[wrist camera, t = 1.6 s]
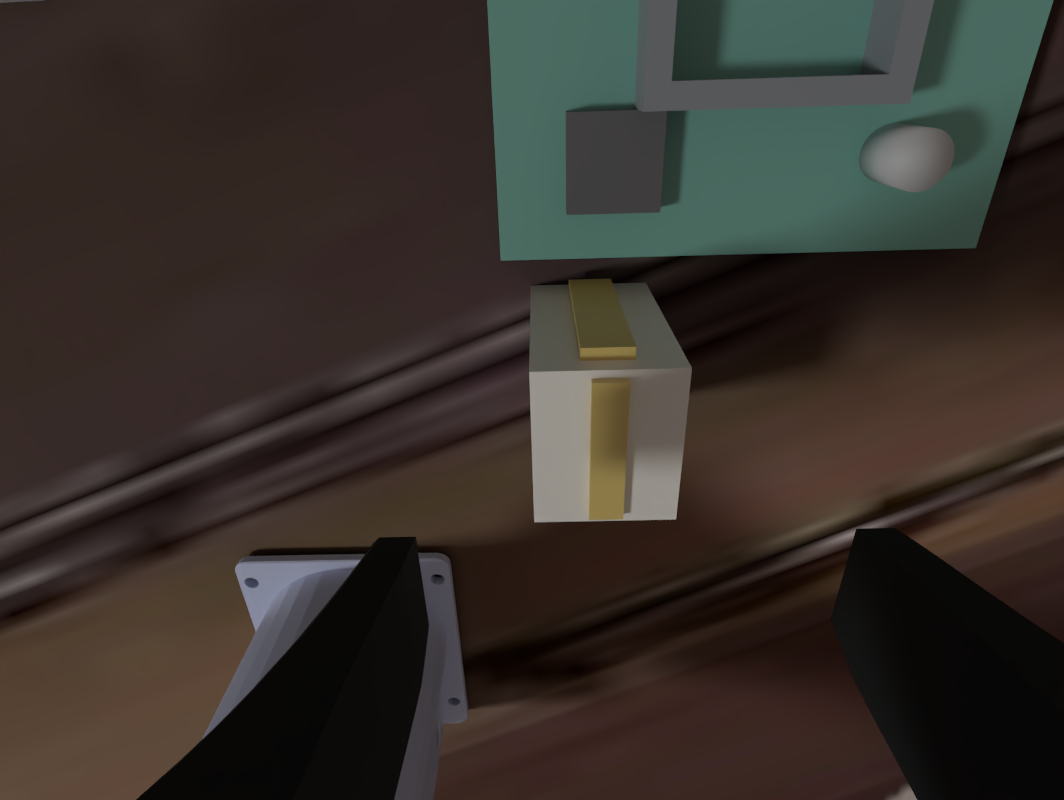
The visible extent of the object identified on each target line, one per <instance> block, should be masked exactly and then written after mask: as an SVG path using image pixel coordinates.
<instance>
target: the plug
mask: <svg viewBox="0 0 1064 800" xmlns="http://www.w3.org/2000/svg"><path fill="white" fill-rule="evenodd" d="M691 373H692V367H691V365H690V364H689V362H688V360H687V358H686V356H685V354H684V352H683V351H682V349H681V347H680V345H679V343H678V341H677V340H676V338H675V336H674V334H673V332H672V330H671V328H670V327H669V325H668V323H667V321H666V319H665V317H664V315H663V314H662V312H661V310H660V308H659V306H658V304H657V303H656V301H655V299H654V297H653V295H652V293H651V291H650V290H649V288H648V286H647V284H646V283H614V284H613V283H612V281H611V279H575V280H569V285H536V286H531V309H530V363H529V377H530V407H531V437H532V468H533V498H534V522H576V521H628V520H676V515H677V506H678V496H679V487H680V477H681V468H682V458H683V449H684V439H685V430H686V420H687V411H688V401H689V392H690V382H691Z"/></svg>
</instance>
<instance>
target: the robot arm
mask: <svg viewBox="0 0 1064 800" xmlns="http://www.w3.org/2000/svg"><path fill="white" fill-rule="evenodd" d="M235 572H236V575H237V578H238V581H239V584H240V587H241V590H242V593H243V595H244V598H245V601H246V604H247V607H248V610H249V613H250V616H251V619H252V622H253V625H254V628H255V631H256V633H255V635H254V637H253V639H252V641H251V643H250V645H249V647H248V649H247V651H246V653H245V655H244V657H243V659H242V661H241V663H240V665H239V667H238V669H237V671H236V673H235V675H234V677H233V679H232V681H231V683H230V685H229V687H228V689H227V691H226V693H225V695H224V697H223V699H222V701H221V703H220V705H219V707H218V708H217V710H216V712H215V714H214V716H213V718H212V720H211V722H210V724H209V726H208V728H207V730H206V732H205V734H204V736H203V738H202V740H201V741H200V742H199V743H198V744H197V745H196V746H195V747H194V748H193V749H192V750H191V751H190V752H189V753H188V754H187V755H185V756H184V757H183V758H182V759H181V760H180V761H179V762H178V763H177V764H176V765H175V766H173V767H172V768H171V769H170V770H169V771H168V772H167V773H166V774H164V775H163V776H162V777H161V778H160V779H159V780H158V781H157V782H156V783H154V784H153V785H152V786H151V787H150V788H149V789H148V790H147V791H145V792H144V793H143V794H142V795H141V796H140V797H139V798H138V799H136V800H433V798H434V790H435V783H436V776H437V769H438V762H439V755H440V748H441V741H442V734H443V727H444V723H461V722H463V721H465V720H466V719H467V716H468V703H467V694H466V686H465V678H464V669H463V661H462V652H461V644H460V636H459V627H458V619H457V610H456V602H455V594H454V585H453V577H452V569H451V562H450V559H449V558H448V557H447V556H446V555H444V554H442V553H418V548H417V542H416V537H385V538H378V539H377V540H376V541H375V542H374V543H373V544H372V546H371V547H370V548H369V550H368V551H367V552H366V554H334V555H278V556H246V557H243V558H242V559H240V561H239V562H238V564H237V566H236V568H235ZM436 574H438V575H441V576H443V577H436V576H434V575H436ZM252 578H254V579H256V580H253V579H252ZM831 621H832V623H833V626H834V629H835V632H836V634H837V637H838V640H839V643H840V645H841V648H842V651H843V654H844V656H845V659H846V661H847V664H848V666H849V668H850V671H851V673H852V676H853V678H854V681H855V683H856V685H857V687H858V689H859V691H860V693H861V695H862V696H863V698H864V700H865V702H866V704H867V706H868V708H869V710H870V712H871V714H872V716H873V717H874V719H875V721H876V723H877V725H878V727H879V729H880V731H881V733H882V734H883V736H884V738H885V740H886V742H887V744H888V746H889V748H890V749H891V751H892V753H893V755H894V757H895V759H896V761H897V762H898V764H899V766H900V768H901V770H902V772H903V774H904V776H905V777H906V779H907V781H908V783H909V785H910V787H911V789H912V790H913V792H914V794H915V796H916V798H917V799H918V800H1064V643H1062V642H1061V641H1059V640H1058V639H1056V638H1055V637H1053V636H1052V635H1050V634H1049V633H1047V632H1046V631H1044V630H1043V629H1041V628H1040V627H1038V626H1037V625H1035V624H1034V623H1032V622H1031V621H1029V620H1028V619H1027V618H1025V617H1024V616H1022V615H1021V614H1019V613H1018V612H1016V611H1015V610H1013V609H1012V608H1010V607H1009V606H1008V605H1006V604H1005V603H1003V602H1002V601H1000V600H999V599H997V598H996V597H995V596H993V595H992V594H990V593H989V592H987V591H986V590H984V589H983V588H982V587H980V586H979V585H977V584H976V583H974V582H973V581H972V580H970V579H969V578H967V577H966V576H964V575H963V574H962V573H960V572H959V571H957V570H956V569H954V568H953V567H952V566H950V565H949V564H947V563H946V562H944V561H943V560H942V559H940V558H939V557H937V556H936V555H934V554H933V553H931V552H930V551H929V550H927V549H926V548H924V547H923V546H921V545H920V544H918V543H917V542H915V541H914V540H912V539H911V538H909V537H908V536H906V535H905V534H903V533H901V532H900V531H898V530H897V529H895V528H874V529H856V532H855V536H854V539H853V543H852V546H851V550H850V553H849V557H848V560H847V564H846V567H845V571H844V575H843V578H842V582H841V585H840V589H839V592H838V596H837V599H836V603H835V606H834V610H833V613H832V617H831Z"/></svg>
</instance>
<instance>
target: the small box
mask: <svg viewBox="0 0 1064 800" xmlns="http://www.w3.org/2000/svg"><path fill="white" fill-rule="evenodd" d="M23 1H45V0H0V3H7V2H23Z"/></svg>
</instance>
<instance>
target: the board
mask: <svg viewBox="0 0 1064 800" xmlns="http://www.w3.org/2000/svg"><path fill="white" fill-rule="evenodd" d="M1053 1H1054V0H487V6H488V25H489V44H490V63H491V82H492V101H493V120H494V140H495V159H496V178H497V197H498V216H499V235H500V254H501V261H504V260H542V259H581V258H619V257H657V256H695V255H733V254H771V253H809V252H847V251H885V250H923V249H961V248H976V246H977V243H978V239H979V236H980V233H981V230H982V227H983V224H984V220H985V217H986V214H987V211H988V208H989V204H990V201H991V198H992V195H993V192H994V189H995V185H996V182H997V179H998V176H999V173H1000V169H1001V166H1002V163H1003V160H1004V157H1005V153H1006V150H1007V147H1008V144H1009V141H1010V138H1011V134H1012V131H1013V128H1014V125H1015V122H1016V118H1017V115H1018V112H1019V109H1020V106H1021V103H1022V99H1023V96H1024V93H1025V90H1026V87H1027V83H1028V80H1029V77H1030V74H1031V71H1032V67H1033V64H1034V61H1035V58H1036V55H1037V52H1038V48H1039V45H1040V42H1041V39H1042V36H1043V32H1044V29H1045V26H1046V23H1047V20H1048V17H1049V13H1050V10H1051V7H1052V4H1053Z"/></svg>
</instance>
